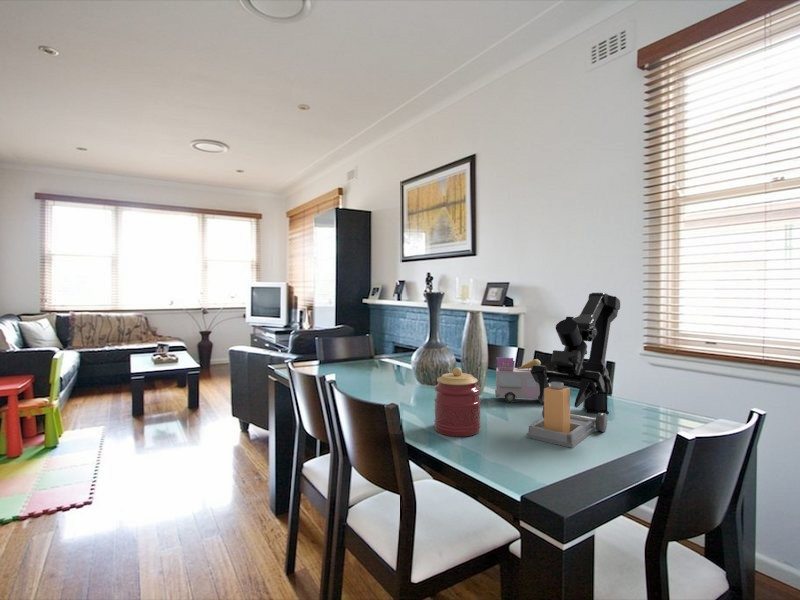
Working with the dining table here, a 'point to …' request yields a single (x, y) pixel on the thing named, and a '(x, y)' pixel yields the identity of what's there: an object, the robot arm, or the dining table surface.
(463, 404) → the canister
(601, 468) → the dining table surface
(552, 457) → the dining table surface
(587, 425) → the chassis
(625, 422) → the dining table surface
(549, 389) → the block with grey dome
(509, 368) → the toy vehicle
